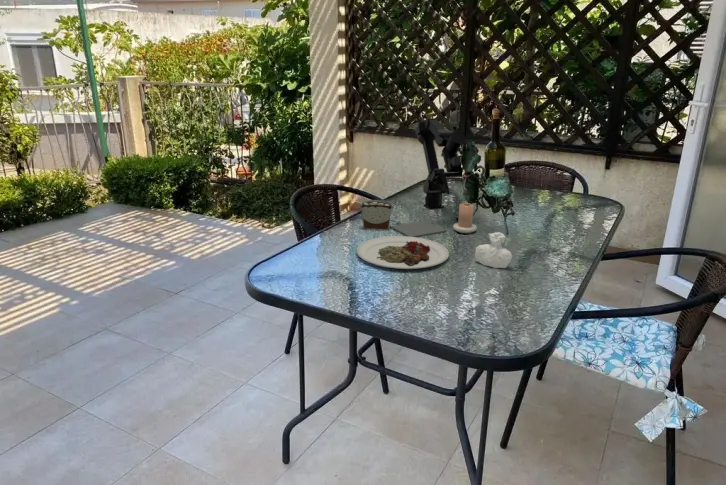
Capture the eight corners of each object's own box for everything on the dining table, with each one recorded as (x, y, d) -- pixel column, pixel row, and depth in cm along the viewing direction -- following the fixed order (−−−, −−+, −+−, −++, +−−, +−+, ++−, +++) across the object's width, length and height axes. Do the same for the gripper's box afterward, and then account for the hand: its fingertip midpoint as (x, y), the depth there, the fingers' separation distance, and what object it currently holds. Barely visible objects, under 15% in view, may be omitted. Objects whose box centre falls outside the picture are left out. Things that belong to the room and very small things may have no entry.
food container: (393, 225, 204) (394, 200, 201) (392, 230, 198) (393, 204, 195) (361, 224, 205) (361, 198, 202) (359, 228, 199) (360, 203, 196)
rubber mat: (424, 222, 208) (424, 220, 208) (446, 231, 197) (446, 230, 197) (389, 227, 201) (389, 226, 201) (410, 238, 190) (410, 236, 189)
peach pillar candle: (465, 222, 201) (467, 200, 198) (474, 226, 197) (476, 203, 194) (455, 224, 199) (456, 202, 196) (463, 228, 195) (465, 205, 192)
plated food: (341, 264, 165) (341, 254, 164) (375, 236, 192) (375, 227, 191) (435, 279, 155) (436, 269, 154) (457, 248, 181) (458, 238, 180)
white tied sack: (510, 275, 164) (522, 242, 166) (504, 267, 158) (516, 233, 160) (475, 266, 171) (487, 234, 173) (467, 257, 165) (480, 225, 167)
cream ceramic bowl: (466, 226, 204) (466, 221, 203) (480, 232, 197) (481, 227, 196) (448, 229, 200) (448, 224, 199) (462, 235, 193) (463, 230, 193)
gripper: (434, 147, 198) (443, 183, 192) (481, 146, 202) (491, 181, 195) (426, 164, 208) (434, 198, 201) (471, 163, 212) (480, 196, 205)
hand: (460, 193), depth 201 cm, fingers open, 9 cm apart
